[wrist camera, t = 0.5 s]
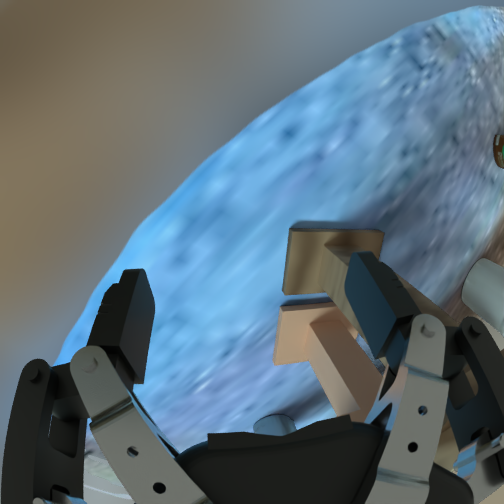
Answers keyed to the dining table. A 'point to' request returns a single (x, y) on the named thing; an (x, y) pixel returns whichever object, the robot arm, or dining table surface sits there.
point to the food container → (499, 150)
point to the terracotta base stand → (329, 355)
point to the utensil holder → (486, 292)
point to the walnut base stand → (334, 273)
